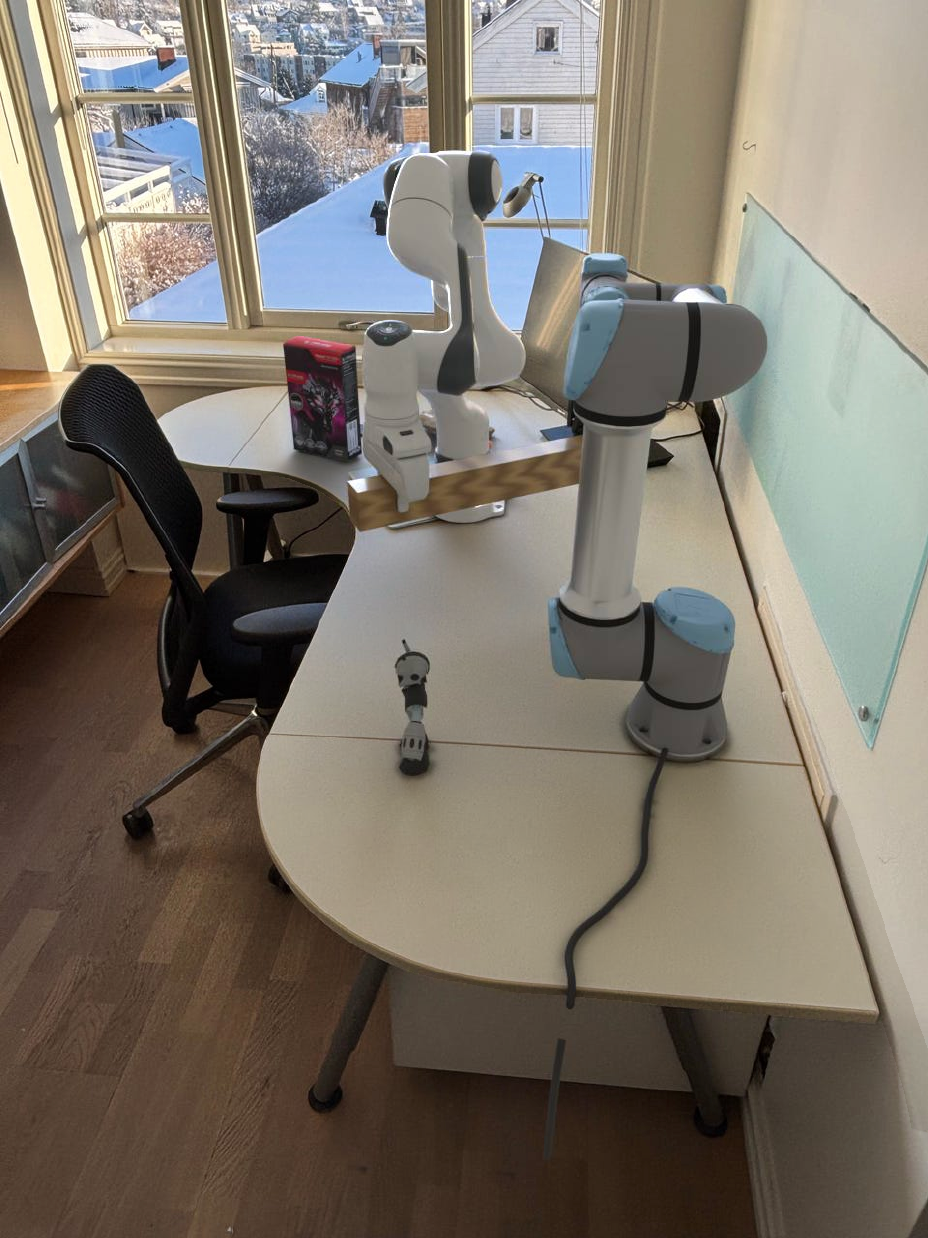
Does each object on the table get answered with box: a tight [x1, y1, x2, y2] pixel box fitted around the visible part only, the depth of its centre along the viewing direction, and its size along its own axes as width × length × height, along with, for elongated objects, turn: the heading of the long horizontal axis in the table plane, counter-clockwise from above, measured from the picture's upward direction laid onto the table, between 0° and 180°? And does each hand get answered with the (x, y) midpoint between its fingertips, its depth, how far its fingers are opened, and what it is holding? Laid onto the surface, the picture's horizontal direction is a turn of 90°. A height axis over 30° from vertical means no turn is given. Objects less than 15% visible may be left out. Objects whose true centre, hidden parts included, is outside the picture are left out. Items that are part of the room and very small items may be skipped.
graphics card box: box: [282, 335, 363, 463], centre depth 222 cm, size 17×7×27 cm, turn 62°
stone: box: [419, 409, 496, 439], centre depth 236 cm, size 21×15×6 cm
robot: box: [394, 638, 431, 776], centre depth 132 cm, size 20×5×20 cm, turn 3°
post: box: [346, 435, 583, 533], centre depth 164 cm, size 54×5×7 cm, turn 116°
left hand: (394, 502), depth 157 cm, fingers closed on post, 5 cm apart
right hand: (586, 472), depth 173 cm, fingers closed on post, 5 cm apart
